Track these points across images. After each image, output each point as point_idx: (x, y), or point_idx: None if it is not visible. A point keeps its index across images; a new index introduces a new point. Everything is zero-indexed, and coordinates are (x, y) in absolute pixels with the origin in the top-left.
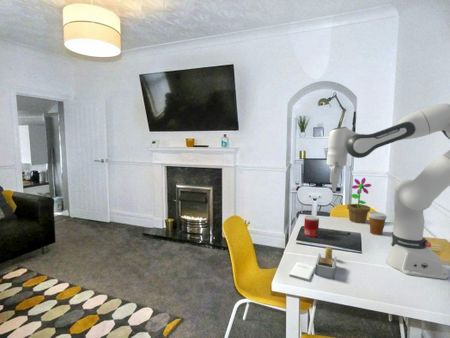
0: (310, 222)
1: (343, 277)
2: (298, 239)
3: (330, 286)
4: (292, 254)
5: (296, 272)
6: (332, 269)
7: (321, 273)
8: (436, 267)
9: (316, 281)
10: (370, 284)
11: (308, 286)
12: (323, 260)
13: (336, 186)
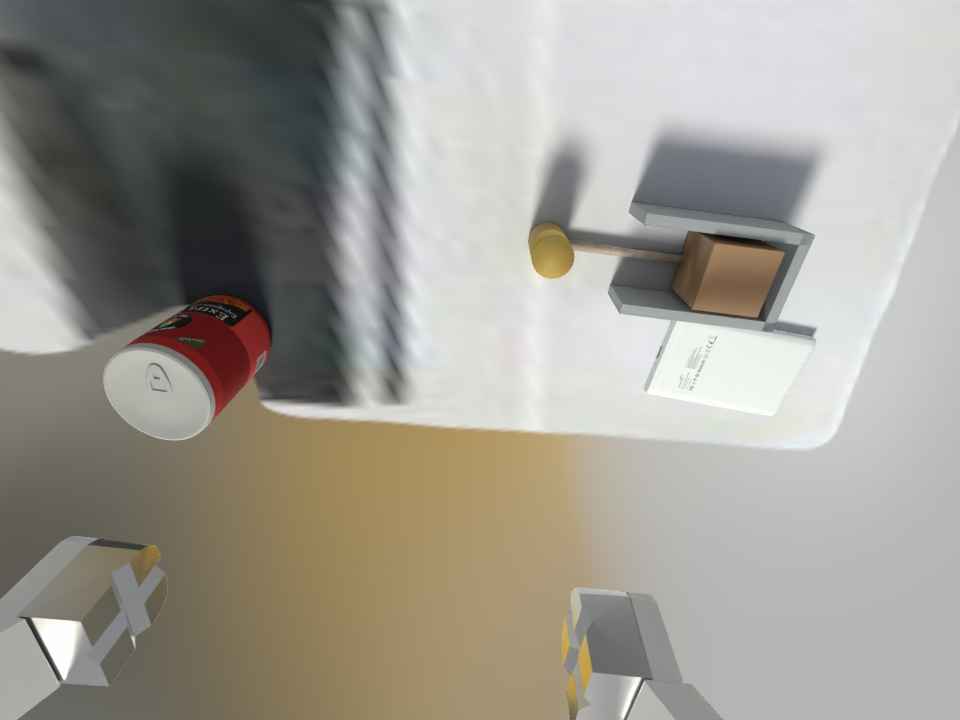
0: (224, 390)
1: (758, 170)
2: (340, 395)
3: (852, 243)
4: (547, 412)
5: (755, 391)
6: (806, 245)
7: None
8: None
9: (808, 304)
10: (830, 10)
11: (852, 337)
12: (736, 296)
13: (124, 576)
